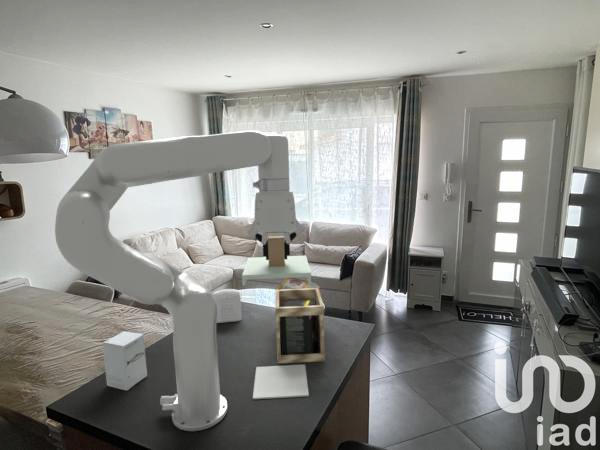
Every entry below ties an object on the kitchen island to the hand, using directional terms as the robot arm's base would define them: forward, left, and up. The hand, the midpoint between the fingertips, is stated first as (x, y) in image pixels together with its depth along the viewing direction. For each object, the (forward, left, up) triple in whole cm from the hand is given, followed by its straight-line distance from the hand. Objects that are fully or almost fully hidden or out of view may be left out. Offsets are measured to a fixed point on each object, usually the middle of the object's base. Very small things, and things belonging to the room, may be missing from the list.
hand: (276, 257), depth 91 cm
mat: (0, 0, -34) cm, 34 cm away
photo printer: (-20, +41, -34) cm, 57 cm away
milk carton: (+7, +34, -34) cm, 49 cm away
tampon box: (+6, +17, -34) cm, 39 cm away
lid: (0, 0, -4) cm, 4 cm away
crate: (+6, +17, -34) cm, 39 cm away
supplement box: (-42, +4, -34) cm, 55 cm away
